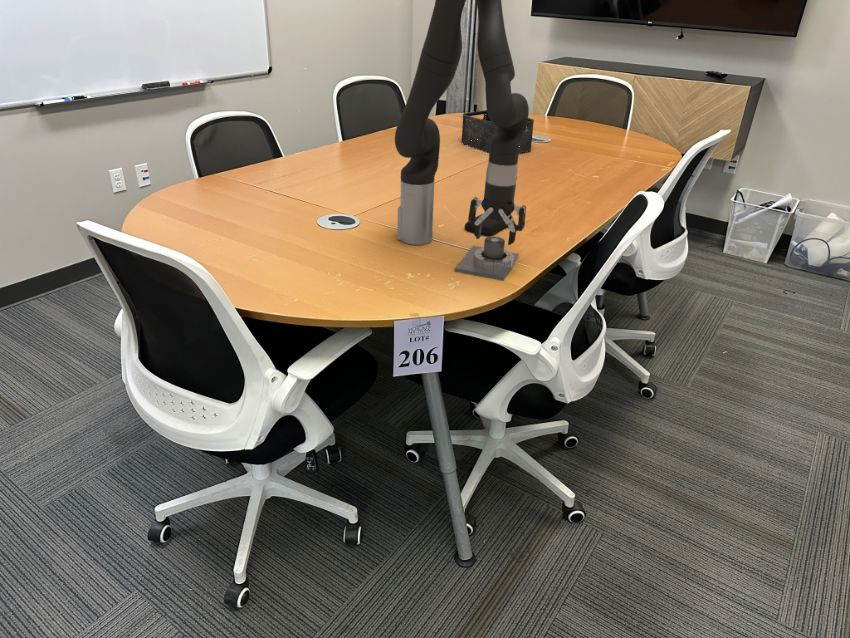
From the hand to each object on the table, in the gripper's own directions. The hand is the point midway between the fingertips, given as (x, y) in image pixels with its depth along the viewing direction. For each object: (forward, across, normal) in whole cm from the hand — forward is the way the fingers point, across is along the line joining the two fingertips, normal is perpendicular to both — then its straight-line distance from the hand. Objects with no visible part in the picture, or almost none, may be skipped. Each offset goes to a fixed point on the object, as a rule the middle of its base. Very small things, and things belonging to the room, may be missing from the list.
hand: (494, 241), depth 158 cm
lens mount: (+7, -1, 0) cm, 7 cm away
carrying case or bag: (+8, -8, +26) cm, 28 cm away
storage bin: (+9, -31, +121) cm, 126 cm away
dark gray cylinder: (+6, 0, 0) cm, 6 cm away
